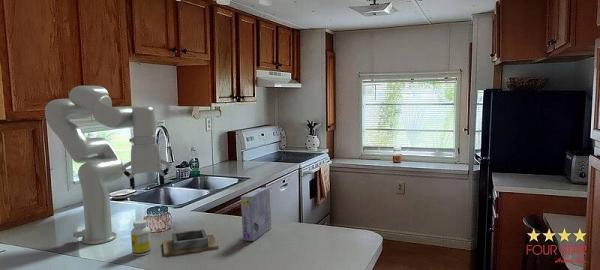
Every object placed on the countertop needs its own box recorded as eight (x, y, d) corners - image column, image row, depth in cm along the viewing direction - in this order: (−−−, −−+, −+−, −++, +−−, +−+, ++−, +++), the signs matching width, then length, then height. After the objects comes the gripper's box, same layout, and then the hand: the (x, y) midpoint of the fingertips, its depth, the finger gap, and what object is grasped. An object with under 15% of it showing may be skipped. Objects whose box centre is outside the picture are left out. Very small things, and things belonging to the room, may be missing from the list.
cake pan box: (262, 226, 183) (260, 185, 181) (273, 227, 181) (271, 186, 179) (241, 241, 165) (239, 196, 163) (253, 242, 163) (251, 197, 161)
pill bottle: (135, 250, 158) (133, 219, 157) (153, 249, 158) (151, 218, 157) (129, 256, 152) (127, 224, 150) (148, 255, 152) (146, 223, 151)
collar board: (164, 256, 151) (163, 245, 151) (162, 243, 164) (162, 233, 164) (218, 248, 157) (218, 237, 157) (212, 236, 171) (212, 227, 170)
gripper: (117, 143, 148) (121, 192, 150) (170, 140, 154) (172, 187, 155) (120, 141, 156) (123, 187, 157) (169, 138, 161) (172, 183, 162)
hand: (147, 187), depth 156 cm, fingers open, 9 cm apart
